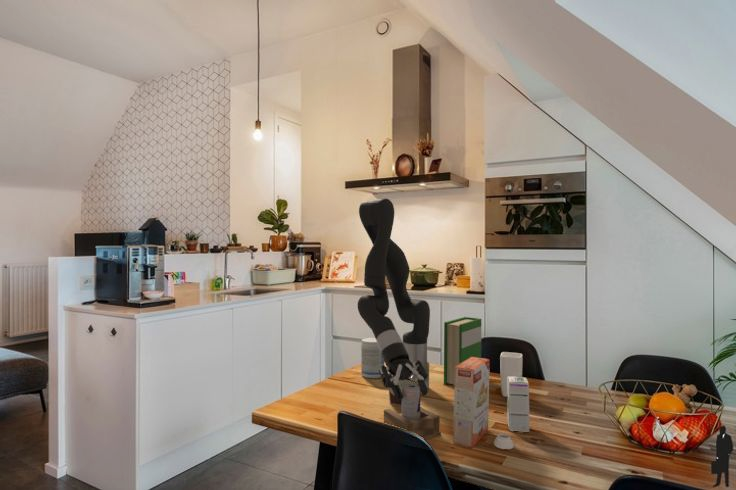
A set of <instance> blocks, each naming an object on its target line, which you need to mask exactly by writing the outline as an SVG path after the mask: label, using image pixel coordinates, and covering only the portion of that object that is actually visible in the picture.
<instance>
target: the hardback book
mask: <svg viewBox="0 0 736 490" xmlns="http://www.w3.org/2000/svg"><path fill="white" fill-rule="evenodd" d="M443 323H444V324H443V329H444V331H443V337H444V338H443V385H444V386H447V385H454V386H455V367H456V366H457V365H459V364H461V363H462V362H464V361H466V360H467V359H469V358H471V357H477V358H482V318H478V317H468V316H464V317H460V318H456V319H452V320H448V321H444V322H443Z"/></svg>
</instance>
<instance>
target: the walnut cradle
mask: <svg viewBox="0 0 736 490" xmlns="http://www.w3.org/2000/svg"><path fill="white" fill-rule="evenodd" d="M440 418H441V417H440V416H438V415H437V414H435V413H433V412H431V411H429V410H427V409H425V408H423V407H421V406H420V418H418V419H414V420H407V419H406V418H404V417H402V416H401V414H399V413H398V412H396V411H394V410H393V409H390V408H387V409H384V410H383V424H384V423H387V424H390V425H394V426H397V427H400V428H403V429H406V430H408V431H411V432H414V433H416V434H418V435H419V436H421V437H423V438H424V440H428V439H431V438H435V437H439V435H440V436H441V435H442V432H441V431H440V425H441V423H440V420H441V419H440Z"/></svg>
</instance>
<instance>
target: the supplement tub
mask: <svg viewBox="0 0 736 490" xmlns="http://www.w3.org/2000/svg"><path fill="white" fill-rule="evenodd" d="M360 346H361V349H360V351H361V353H360V354H361V356H360V357H361V359H360V361H361V364H360V366H361V367H360V368H361V371H360V373H361V376H362V377H364V378H367V379H379V378H380V379H381V376H380V373H379V370H380V368H381V367H382V366H383V365H384V366H385V362H384V359H383V357H382V355H381V352H380V350H379V347H378V344H377V341H376V338H375V337H367V338H362V339H361V345H360Z"/></svg>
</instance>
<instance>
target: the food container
mask: <svg viewBox="0 0 736 490" xmlns="http://www.w3.org/2000/svg"><path fill="white" fill-rule="evenodd" d="M388 375H389V377H390V380H392V376H393V375H392V374H391V373H389V372H388ZM411 375H414V374H413V373H412V374H411ZM416 378H417V377H416ZM406 384H415V385H418V384H417V383H416V382H415V381H412V380H410V379H409V378H408V379H402V380H399V379H398V383H397V385H399V387H400V390H401V392H402V387H403V385H406ZM388 396H389V397H388V399H389V404H390V405H395V406H401V407H402V400H399V401H398V399H396V397H395V395H394V393H393V390H392V389H391V388H388Z"/></svg>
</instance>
